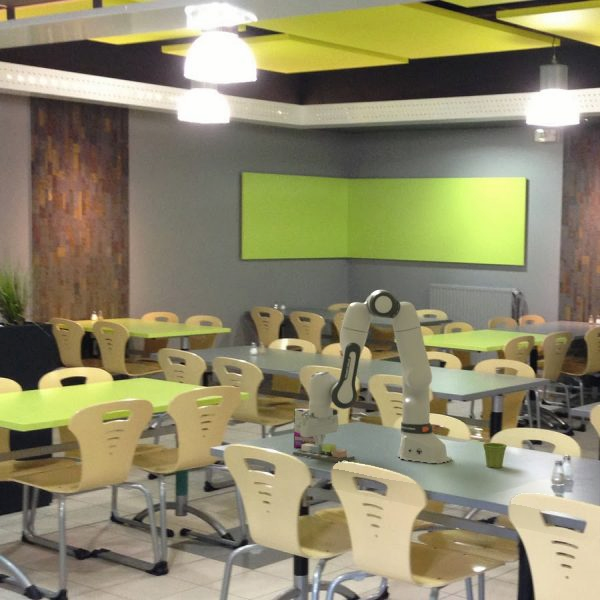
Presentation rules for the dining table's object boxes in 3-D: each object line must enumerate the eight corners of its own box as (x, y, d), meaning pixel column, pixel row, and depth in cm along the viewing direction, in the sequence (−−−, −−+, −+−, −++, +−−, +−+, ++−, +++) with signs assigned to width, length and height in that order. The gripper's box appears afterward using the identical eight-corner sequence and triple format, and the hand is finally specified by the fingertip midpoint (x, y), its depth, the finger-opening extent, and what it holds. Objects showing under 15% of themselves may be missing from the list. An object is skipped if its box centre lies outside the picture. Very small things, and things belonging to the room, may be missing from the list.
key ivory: (314, 453, 458) (315, 444, 458) (308, 454, 455) (308, 445, 455) (307, 451, 460) (307, 443, 460) (301, 453, 457) (301, 444, 457)
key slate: (325, 455, 454) (325, 446, 454) (319, 456, 451) (319, 447, 451) (317, 453, 457) (317, 445, 457) (311, 455, 454) (311, 446, 454)
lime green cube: (335, 453, 451) (336, 444, 450) (329, 454, 448) (329, 446, 447) (328, 452, 453) (328, 443, 453) (321, 453, 450) (322, 444, 450)
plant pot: (477, 464, 442) (478, 443, 442) (498, 463, 446) (499, 442, 445) (489, 469, 434) (490, 447, 433) (510, 468, 437) (511, 446, 436)
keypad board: (354, 459, 449) (354, 455, 449) (337, 462, 441) (337, 459, 440) (310, 451, 464) (310, 447, 464) (292, 454, 456) (293, 450, 456)
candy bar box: (322, 448, 471) (323, 409, 470) (316, 450, 466) (317, 411, 465) (298, 445, 476) (299, 407, 475) (293, 447, 471) (293, 408, 470)
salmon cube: (346, 459, 447) (346, 450, 447) (340, 460, 444) (340, 451, 444) (338, 457, 450) (338, 449, 450) (332, 459, 447) (332, 450, 447)
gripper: (308, 415, 443) (308, 450, 444) (341, 410, 459) (340, 443, 459) (296, 413, 447) (296, 448, 448) (329, 408, 463) (328, 441, 464)
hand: (319, 445), depth 454 cm, fingers closed
